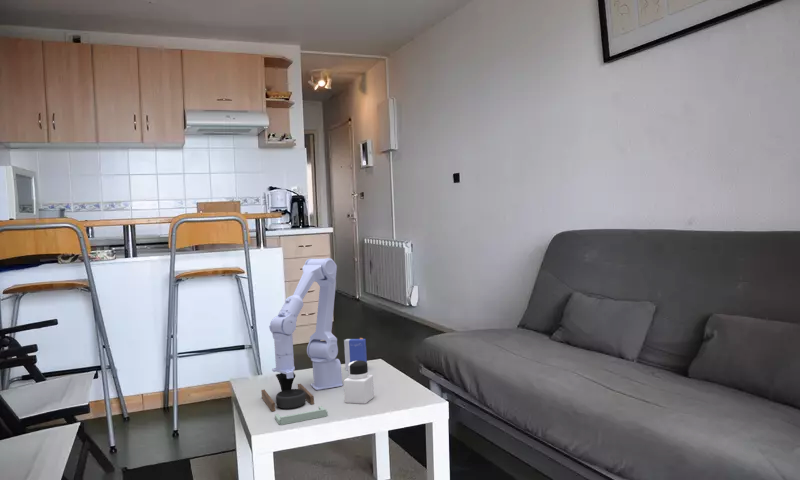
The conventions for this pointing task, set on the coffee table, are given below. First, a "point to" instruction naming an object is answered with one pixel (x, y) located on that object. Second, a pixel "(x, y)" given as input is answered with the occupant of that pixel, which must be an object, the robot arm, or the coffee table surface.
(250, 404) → the coffee table surface
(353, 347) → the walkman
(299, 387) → the chute
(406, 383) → the coffee table surface
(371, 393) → the medicine bottle
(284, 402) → the smart speaker
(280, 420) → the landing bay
